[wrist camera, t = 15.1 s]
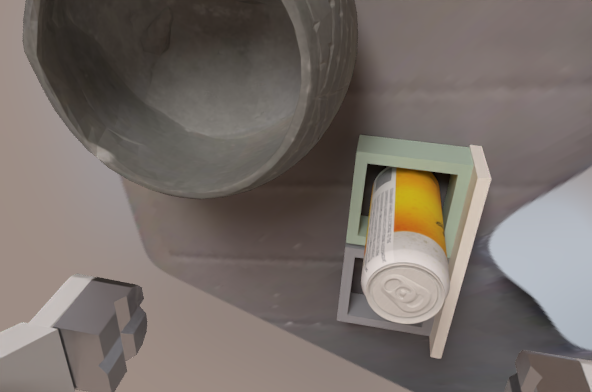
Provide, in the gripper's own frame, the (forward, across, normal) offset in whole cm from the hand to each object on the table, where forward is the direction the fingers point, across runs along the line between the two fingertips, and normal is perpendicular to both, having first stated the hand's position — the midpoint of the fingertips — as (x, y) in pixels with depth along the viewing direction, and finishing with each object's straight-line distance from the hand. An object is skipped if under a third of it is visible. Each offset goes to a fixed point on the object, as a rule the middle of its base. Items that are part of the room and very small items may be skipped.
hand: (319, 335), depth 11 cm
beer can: (+34, -4, +15) cm, 38 cm away
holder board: (+34, -4, +20) cm, 40 cm away
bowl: (+34, +12, +1) cm, 36 cm away
